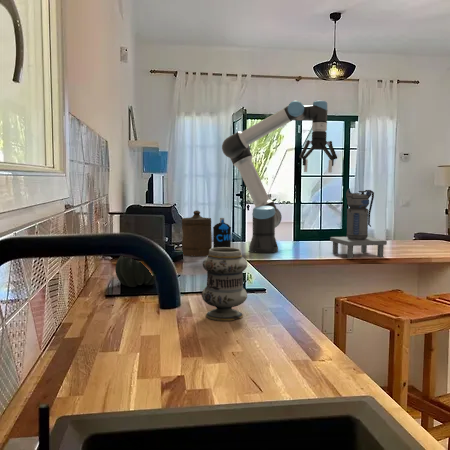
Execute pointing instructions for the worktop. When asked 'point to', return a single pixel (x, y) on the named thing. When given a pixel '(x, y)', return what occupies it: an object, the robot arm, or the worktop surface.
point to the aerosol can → (221, 235)
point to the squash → (132, 272)
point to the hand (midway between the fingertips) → (317, 172)
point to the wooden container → (196, 235)
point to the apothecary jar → (224, 283)
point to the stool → (358, 244)
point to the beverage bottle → (358, 214)
